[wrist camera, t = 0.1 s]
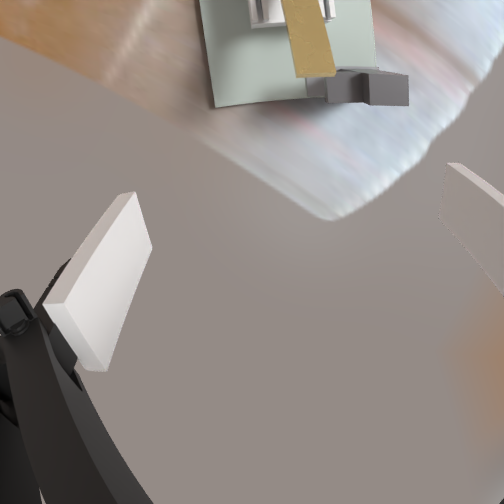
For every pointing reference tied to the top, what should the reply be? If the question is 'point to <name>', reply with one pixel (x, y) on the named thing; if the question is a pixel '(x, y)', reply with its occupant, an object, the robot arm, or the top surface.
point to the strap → (308, 39)
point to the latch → (367, 87)
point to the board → (277, 48)
